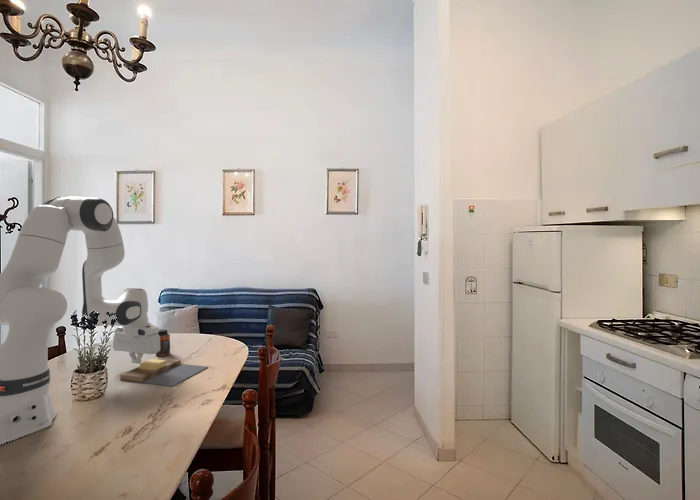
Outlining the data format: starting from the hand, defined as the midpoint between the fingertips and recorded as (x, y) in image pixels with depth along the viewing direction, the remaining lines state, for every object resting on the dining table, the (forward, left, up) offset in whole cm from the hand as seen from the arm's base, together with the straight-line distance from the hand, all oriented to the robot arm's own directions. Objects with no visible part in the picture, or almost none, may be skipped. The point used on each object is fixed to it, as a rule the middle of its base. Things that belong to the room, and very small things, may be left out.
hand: (136, 362), depth 150 cm
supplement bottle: (+19, +4, -3) cm, 20 cm away
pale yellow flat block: (0, -8, -1) cm, 8 cm away
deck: (0, -8, -3) cm, 8 cm away
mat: (0, -19, -3) cm, 19 cm away
